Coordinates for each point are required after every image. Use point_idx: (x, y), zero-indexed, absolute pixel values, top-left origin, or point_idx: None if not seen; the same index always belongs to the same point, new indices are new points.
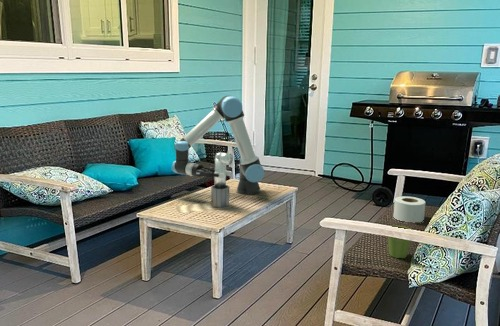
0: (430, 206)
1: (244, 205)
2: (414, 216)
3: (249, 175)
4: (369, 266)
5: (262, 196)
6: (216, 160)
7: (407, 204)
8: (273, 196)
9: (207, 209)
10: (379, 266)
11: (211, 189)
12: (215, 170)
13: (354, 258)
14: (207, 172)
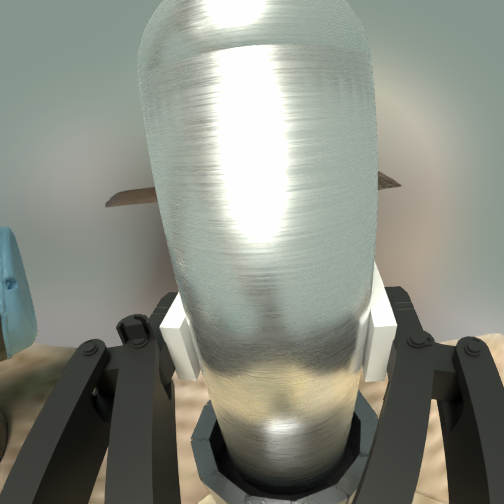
0: (116, 193)
1: (180, 414)
2: None
3: (26, 308)
4: (391, 179)
5: (30, 386)
6: (373, 94)
7: None
8: (34, 355)
9: (413, 501)
10: (383, 176)
11: (350, 498)
12: (369, 299)
13: (385, 185)
14: (482, 393)
